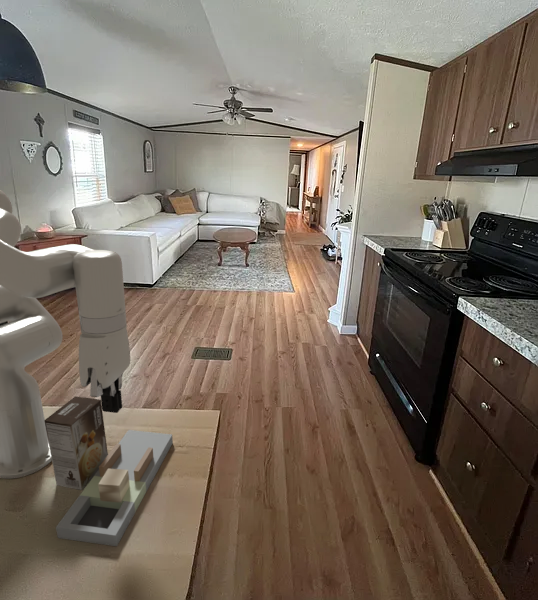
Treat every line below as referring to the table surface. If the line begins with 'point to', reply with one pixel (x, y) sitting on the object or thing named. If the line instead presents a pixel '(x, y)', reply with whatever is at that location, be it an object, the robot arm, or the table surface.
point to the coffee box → (77, 441)
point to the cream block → (114, 485)
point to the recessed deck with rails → (117, 515)
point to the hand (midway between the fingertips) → (112, 409)
